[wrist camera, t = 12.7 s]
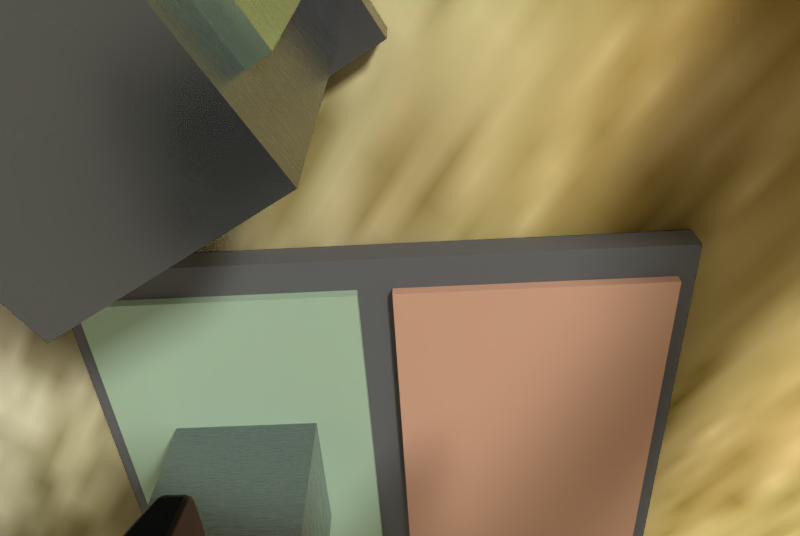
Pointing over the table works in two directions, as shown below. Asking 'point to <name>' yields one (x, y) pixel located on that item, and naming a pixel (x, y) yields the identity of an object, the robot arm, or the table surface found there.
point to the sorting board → (418, 373)
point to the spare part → (250, 479)
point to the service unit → (150, 134)
